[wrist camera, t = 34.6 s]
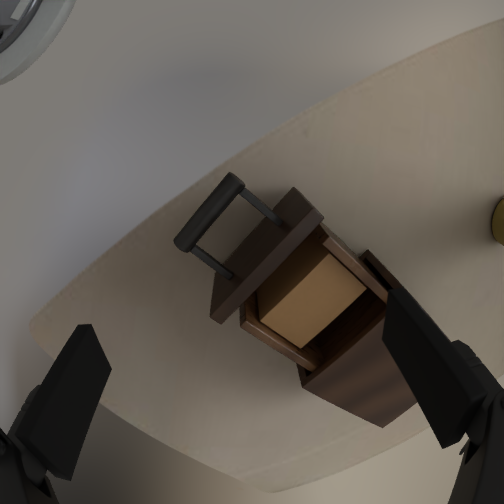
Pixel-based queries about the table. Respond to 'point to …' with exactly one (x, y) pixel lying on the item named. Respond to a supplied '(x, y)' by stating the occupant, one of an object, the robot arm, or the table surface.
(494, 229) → the paper tube
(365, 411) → the cabinet
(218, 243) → the table surface
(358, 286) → the small cardboard box
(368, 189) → the table surface
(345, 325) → the drawer
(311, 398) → the table surface
